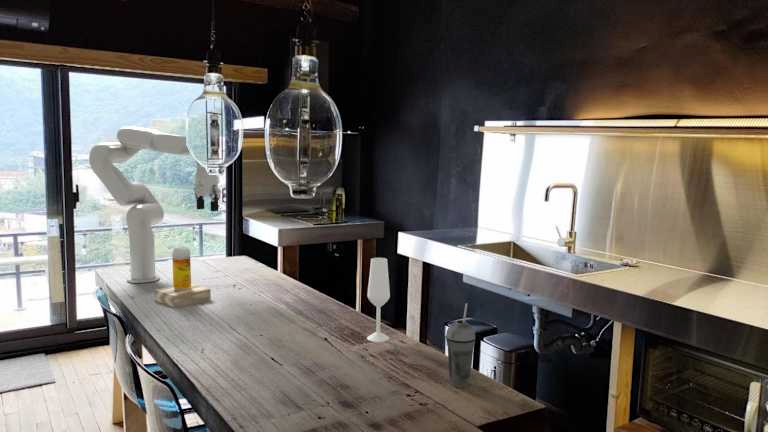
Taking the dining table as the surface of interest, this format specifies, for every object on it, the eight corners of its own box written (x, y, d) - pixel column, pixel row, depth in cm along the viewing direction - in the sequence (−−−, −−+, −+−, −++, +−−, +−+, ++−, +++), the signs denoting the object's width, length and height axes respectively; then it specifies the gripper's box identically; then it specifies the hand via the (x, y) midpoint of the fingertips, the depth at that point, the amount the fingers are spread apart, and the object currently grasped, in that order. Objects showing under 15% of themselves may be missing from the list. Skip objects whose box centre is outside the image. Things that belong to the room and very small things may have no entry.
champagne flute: (368, 342, 168) (369, 261, 165) (365, 335, 174) (366, 257, 171) (391, 341, 169) (392, 261, 166) (386, 333, 175) (388, 256, 172)
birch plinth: (155, 300, 209) (154, 289, 208) (189, 293, 220) (189, 283, 219) (175, 307, 200) (175, 296, 200) (210, 299, 211) (210, 289, 210)
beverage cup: (441, 377, 143) (443, 299, 140) (470, 377, 143) (473, 299, 141) (447, 390, 136) (449, 307, 133) (477, 389, 136) (480, 307, 134)
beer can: (185, 291, 206) (184, 250, 204) (170, 290, 207) (168, 249, 205) (194, 287, 212) (193, 247, 210) (179, 286, 213) (177, 247, 211)
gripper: (186, 167, 232) (187, 209, 234) (210, 168, 221) (211, 212, 223) (202, 166, 238) (203, 207, 240) (227, 168, 227) (228, 211, 229)
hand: (207, 210), depth 232 cm, fingers open, 9 cm apart
